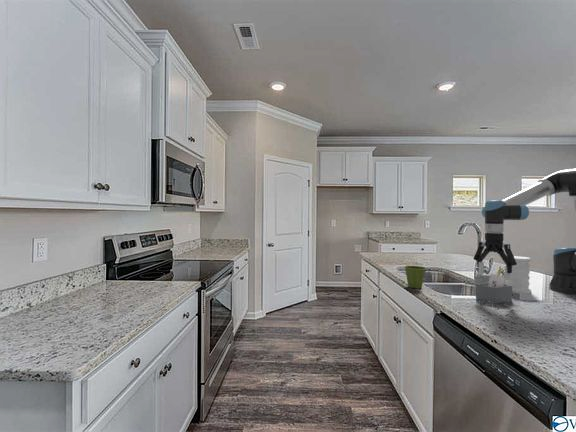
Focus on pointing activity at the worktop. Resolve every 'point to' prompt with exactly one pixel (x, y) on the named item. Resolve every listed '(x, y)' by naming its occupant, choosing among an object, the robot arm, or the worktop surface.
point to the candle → (497, 280)
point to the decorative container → (520, 276)
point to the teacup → (481, 279)
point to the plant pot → (415, 276)
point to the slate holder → (493, 293)
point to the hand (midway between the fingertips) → (493, 277)
